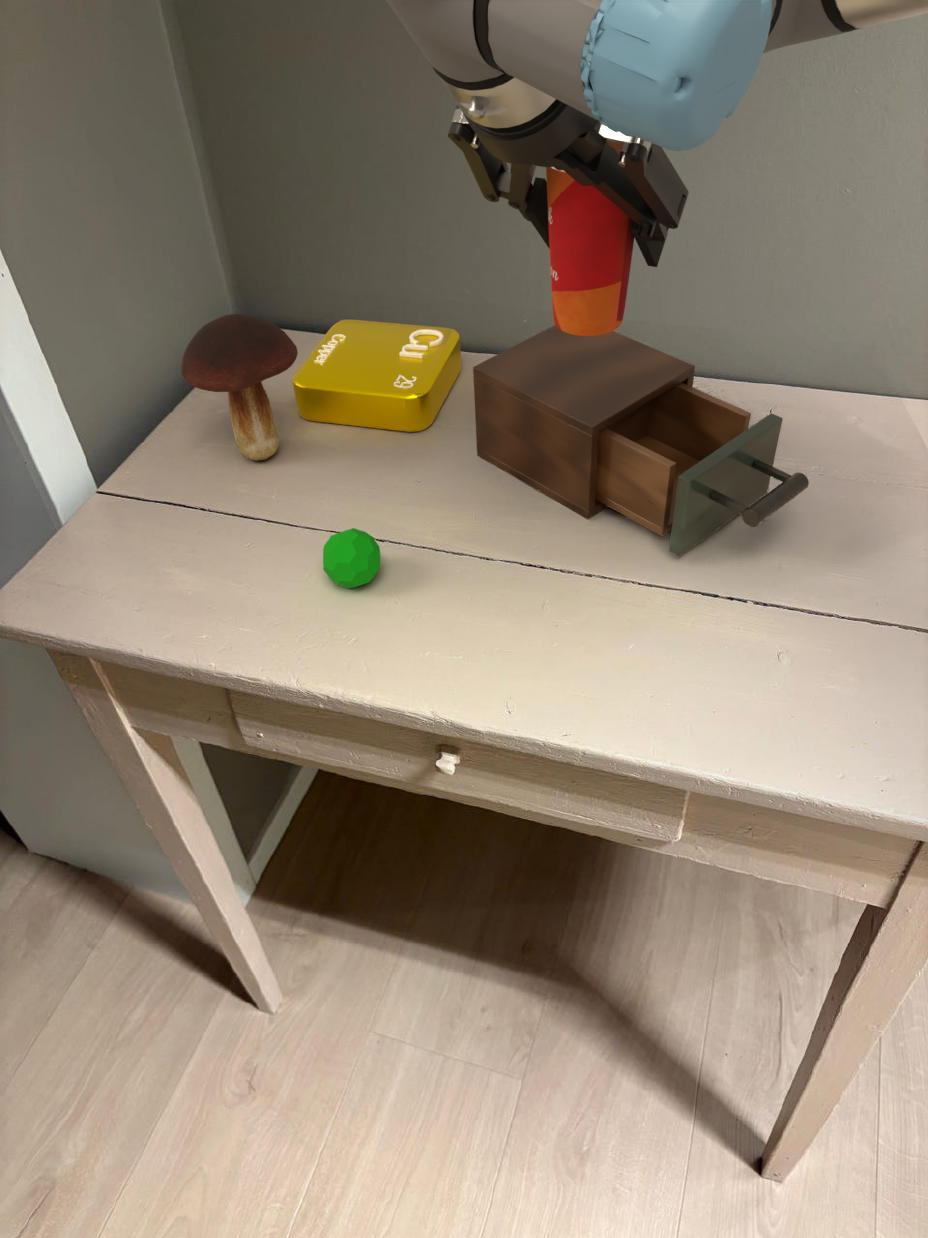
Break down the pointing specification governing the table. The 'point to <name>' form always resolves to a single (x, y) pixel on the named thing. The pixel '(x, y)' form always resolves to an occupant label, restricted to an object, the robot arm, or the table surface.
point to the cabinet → (564, 406)
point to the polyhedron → (351, 558)
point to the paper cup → (587, 256)
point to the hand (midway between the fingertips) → (607, 241)
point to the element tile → (378, 375)
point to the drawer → (692, 466)
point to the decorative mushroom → (241, 374)
